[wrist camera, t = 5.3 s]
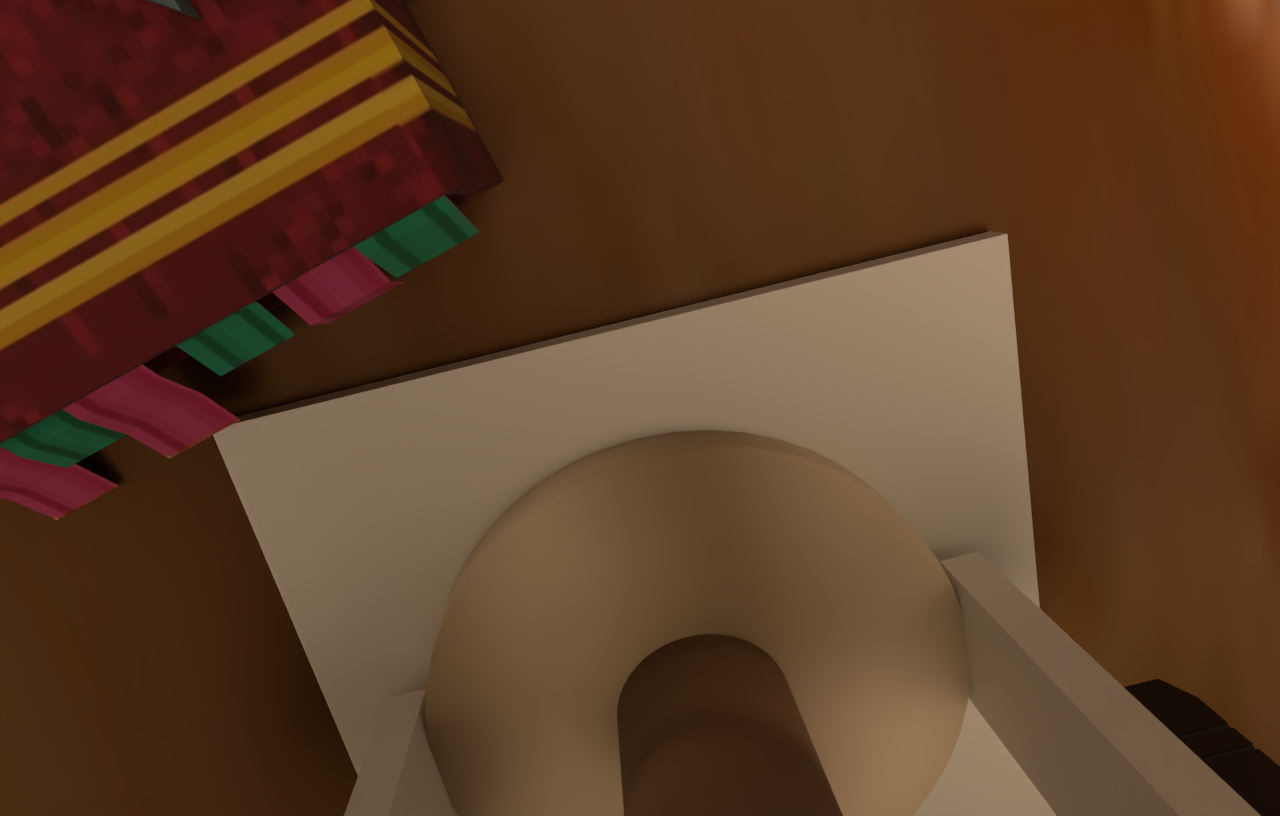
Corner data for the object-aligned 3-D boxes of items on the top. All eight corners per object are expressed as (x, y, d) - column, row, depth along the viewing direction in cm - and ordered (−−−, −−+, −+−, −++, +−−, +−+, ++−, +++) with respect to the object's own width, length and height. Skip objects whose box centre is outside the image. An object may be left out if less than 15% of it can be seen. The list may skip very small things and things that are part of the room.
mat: (459, 978, 18) (455, 1005, 17) (226, 419, 14) (210, 429, 13) (1045, 831, 18) (1061, 853, 17) (989, 231, 14) (1007, 234, 13)
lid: (517, 917, 17) (485, 1325, 11) (364, 505, 14) (203, 754, 8) (965, 805, 17) (1177, 1149, 11) (908, 371, 14) (1157, 517, 8)
